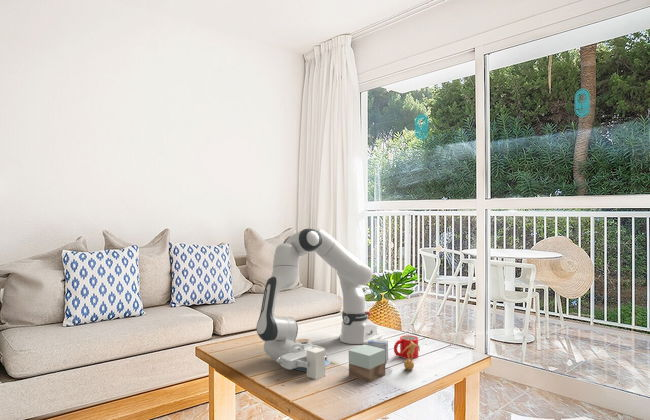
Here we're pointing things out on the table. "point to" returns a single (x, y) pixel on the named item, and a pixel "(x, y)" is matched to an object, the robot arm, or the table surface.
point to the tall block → (316, 363)
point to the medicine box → (380, 346)
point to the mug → (404, 343)
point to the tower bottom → (367, 372)
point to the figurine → (409, 363)
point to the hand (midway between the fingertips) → (317, 361)
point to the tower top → (367, 356)
